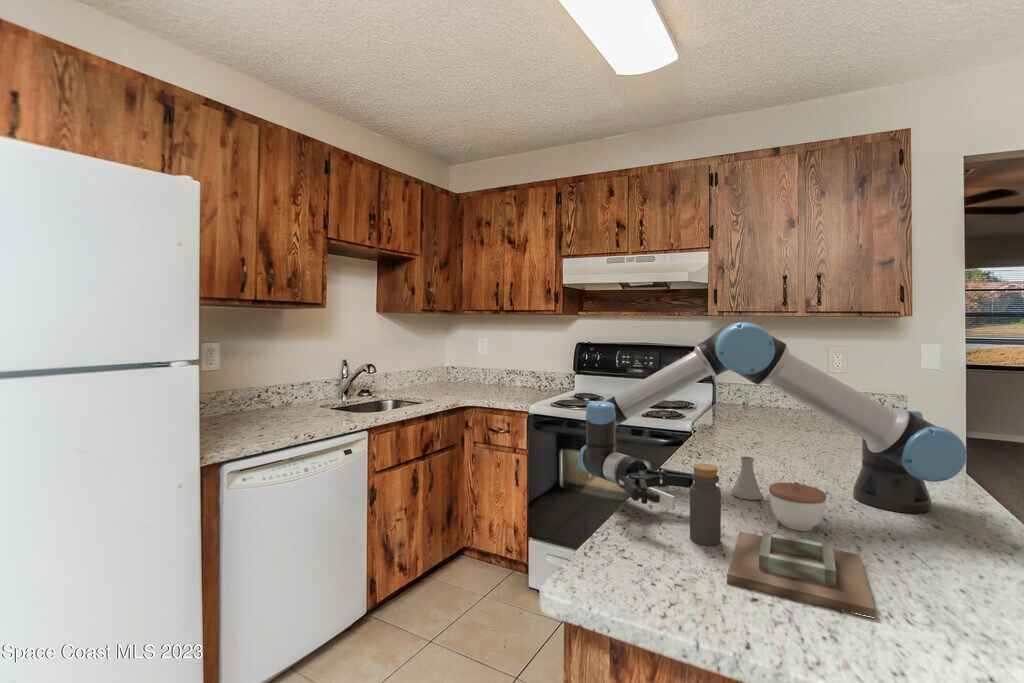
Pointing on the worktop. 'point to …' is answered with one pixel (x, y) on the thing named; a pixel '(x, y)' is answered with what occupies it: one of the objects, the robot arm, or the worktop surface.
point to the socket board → (801, 571)
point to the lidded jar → (797, 505)
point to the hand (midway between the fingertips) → (697, 497)
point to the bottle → (705, 506)
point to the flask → (747, 482)
